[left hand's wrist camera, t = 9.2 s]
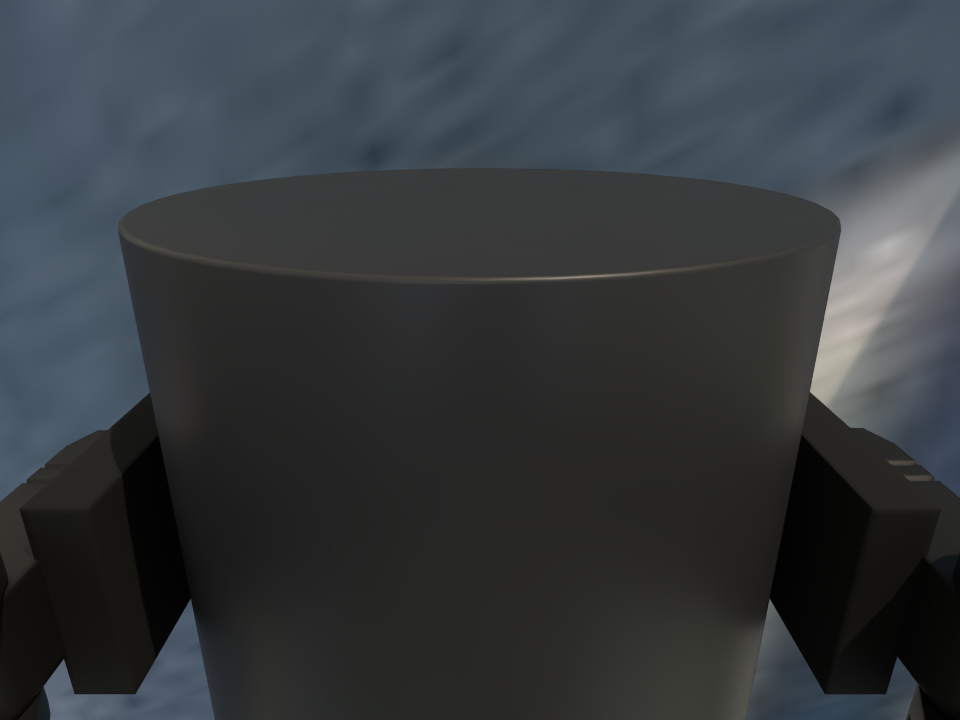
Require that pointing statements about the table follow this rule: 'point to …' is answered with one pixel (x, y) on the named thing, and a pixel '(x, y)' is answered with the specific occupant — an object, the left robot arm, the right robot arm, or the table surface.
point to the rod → (480, 435)
